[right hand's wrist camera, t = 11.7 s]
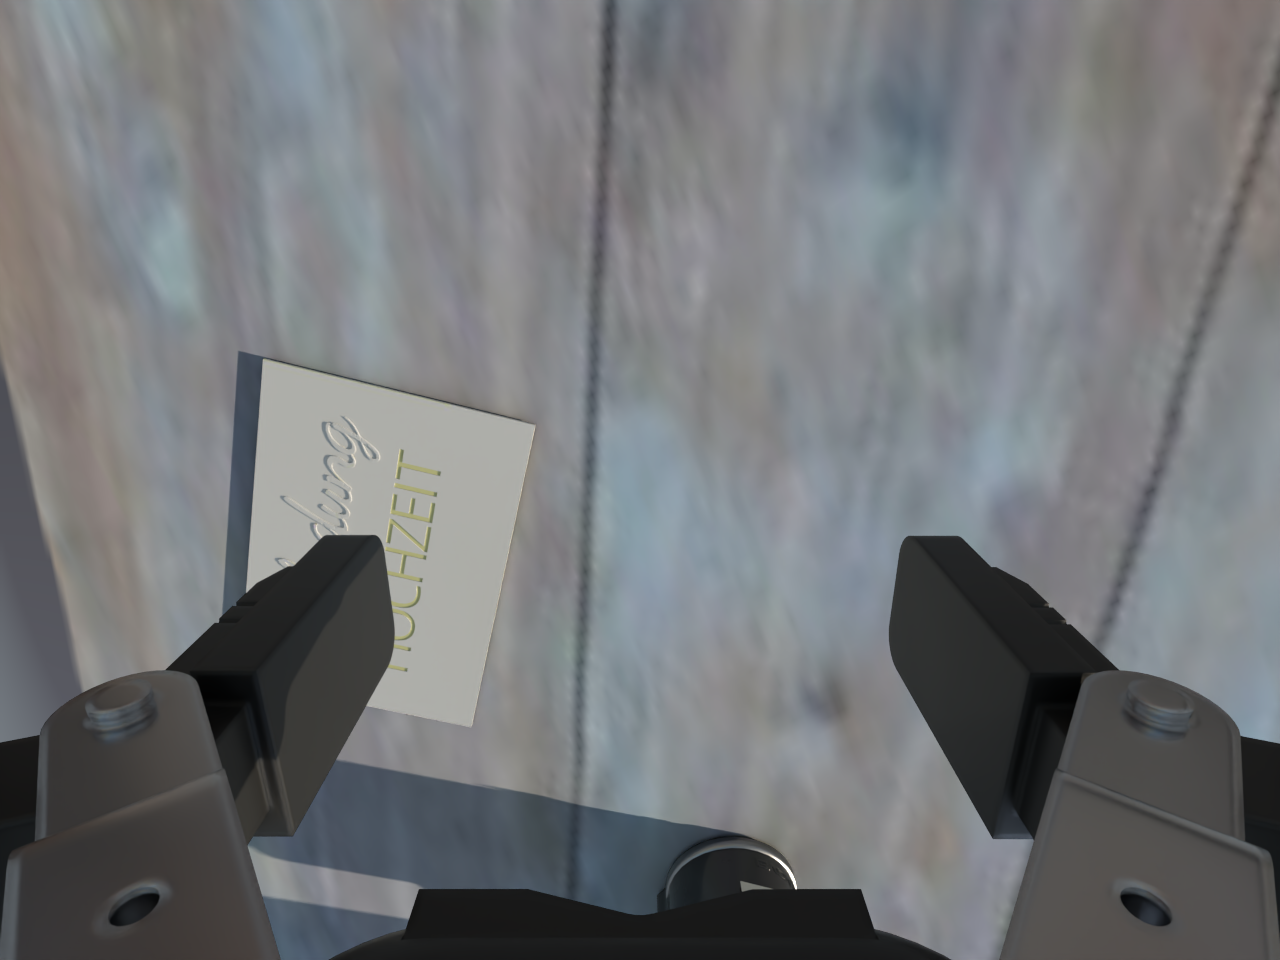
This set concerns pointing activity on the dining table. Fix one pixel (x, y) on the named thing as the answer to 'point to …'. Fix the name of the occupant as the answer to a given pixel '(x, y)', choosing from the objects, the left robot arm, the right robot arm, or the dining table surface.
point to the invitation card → (395, 516)
